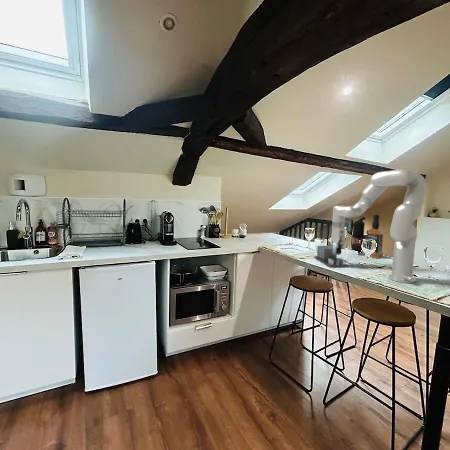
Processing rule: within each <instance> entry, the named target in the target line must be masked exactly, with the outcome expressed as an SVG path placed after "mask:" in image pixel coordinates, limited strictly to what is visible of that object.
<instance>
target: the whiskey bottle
mask: <svg viewBox="0 0 450 450" xmlns="http://www.w3.org/2000/svg"><path fill="white" fill-rule="evenodd" d="M372 217H373V218H372V224H371V228H369V229H368V230H366V240H367V239H373V240H375V241H376V243H377V247H376V250H375V252H374V253H373V254H371V255H370V257H372V258H371V259H375V258H376V259H375V260H377V259H378V260H379V259H381V258H383V241H384V240H383V238H384V235H385V232H384V230H382V229H381V228H380V222H379V220H380V214H373V216H372Z"/></svg>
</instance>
